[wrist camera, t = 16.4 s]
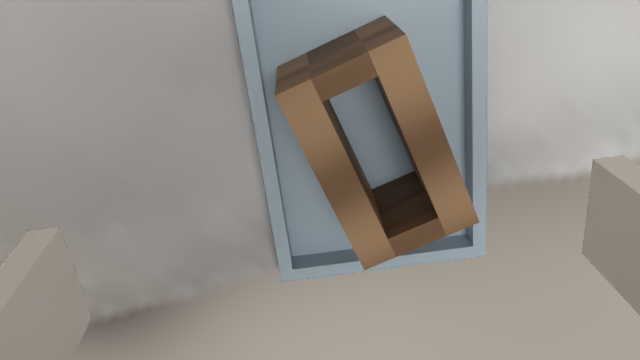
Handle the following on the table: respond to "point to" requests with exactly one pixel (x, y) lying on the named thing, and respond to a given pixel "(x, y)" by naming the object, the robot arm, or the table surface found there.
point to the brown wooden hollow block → (340, 160)
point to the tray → (364, 120)
